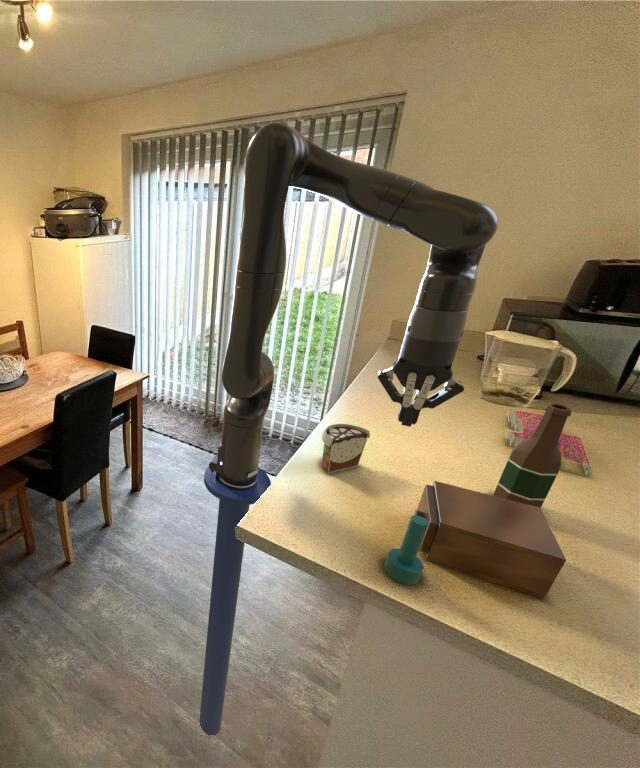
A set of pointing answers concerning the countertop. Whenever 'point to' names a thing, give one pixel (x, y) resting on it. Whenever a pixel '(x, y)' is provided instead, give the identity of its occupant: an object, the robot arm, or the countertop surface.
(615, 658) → the countertop surface
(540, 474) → the beer bottle
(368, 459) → the countertop surface
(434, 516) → the drawer
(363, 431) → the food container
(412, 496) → the countertop surface
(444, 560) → the cabinet
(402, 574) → the teal flanged rod post
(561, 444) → the pink sprinkled snack box
